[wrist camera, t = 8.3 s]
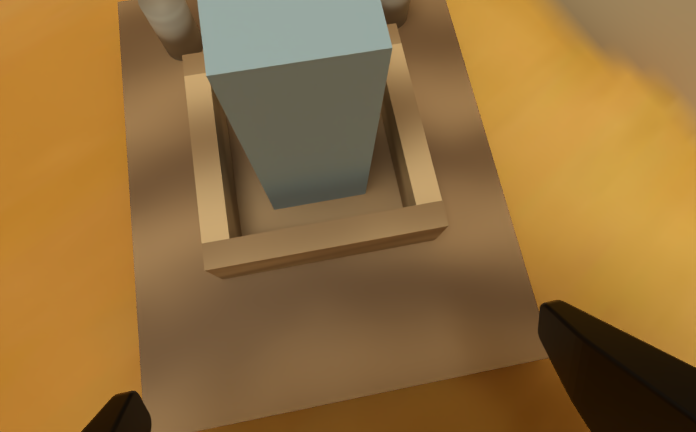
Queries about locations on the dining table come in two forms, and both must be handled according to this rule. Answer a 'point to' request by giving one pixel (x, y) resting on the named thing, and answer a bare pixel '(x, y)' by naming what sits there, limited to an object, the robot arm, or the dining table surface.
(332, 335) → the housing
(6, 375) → the dining table surface
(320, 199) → the pale gray block
